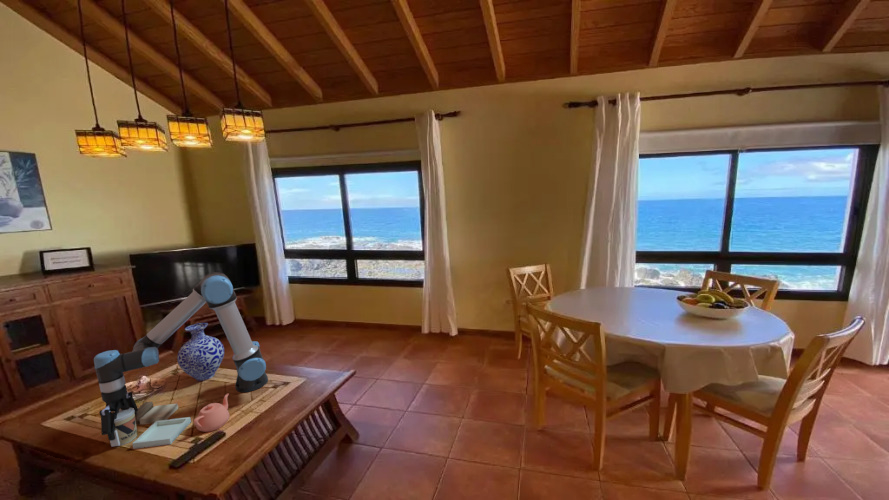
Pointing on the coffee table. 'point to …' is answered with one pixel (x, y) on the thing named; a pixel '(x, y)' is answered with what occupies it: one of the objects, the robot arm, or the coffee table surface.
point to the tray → (162, 433)
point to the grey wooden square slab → (158, 413)
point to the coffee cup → (126, 425)
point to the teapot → (212, 416)
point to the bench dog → (143, 411)
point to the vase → (200, 354)
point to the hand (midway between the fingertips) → (124, 437)
